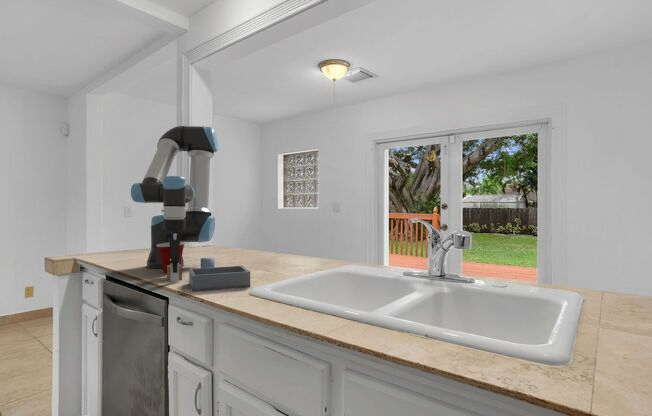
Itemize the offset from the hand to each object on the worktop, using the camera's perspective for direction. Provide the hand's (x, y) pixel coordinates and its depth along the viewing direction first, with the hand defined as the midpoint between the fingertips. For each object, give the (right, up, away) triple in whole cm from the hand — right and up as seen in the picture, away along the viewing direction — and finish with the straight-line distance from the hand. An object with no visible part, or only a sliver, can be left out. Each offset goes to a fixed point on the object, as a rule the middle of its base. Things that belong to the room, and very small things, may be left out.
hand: (174, 278), depth 133 cm
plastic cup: (-7, 0, +14) cm, 16 cm away
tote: (+19, 0, -10) cm, 22 cm away
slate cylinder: (+11, 0, +5) cm, 12 cm away
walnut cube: (0, 0, 0) cm, 0 cm away
